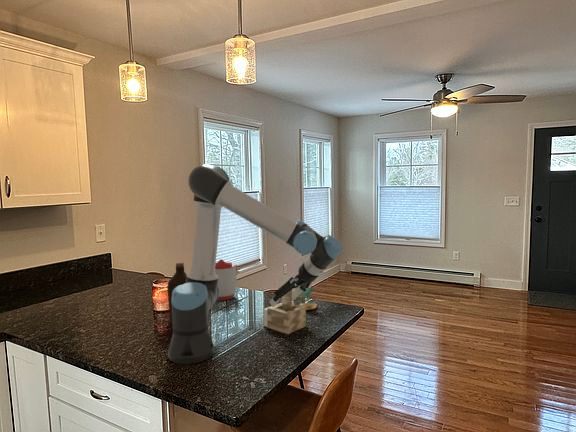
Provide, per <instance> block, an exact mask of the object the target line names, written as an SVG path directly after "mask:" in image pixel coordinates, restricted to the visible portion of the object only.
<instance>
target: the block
mask: <svg viewBox="0 0 576 432" xmlns="http://www.w3.org/2000/svg"><path fill="white" fill-rule="evenodd" d="M280 303H281V304H280ZM280 303H277V304H278V305H277V304H276V305H275V306H274V307H271V306H268V307H269V308H268V307H266V308H267V325H268V327H267V329H271V330H274V331H277V332H280V333H284V334H286V335H290V334H292V333H294V332H296V331H298V330H301V329H303V328H305V327H306V326H307V317H306V316H307V310H306V307H304V306H300V305H298V304H297V303H294V304H292V310H290V311H284V310H282V302H280Z"/></svg>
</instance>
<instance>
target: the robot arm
mask: <svg viewBox="0 0 576 432" xmlns="http://www.w3.org/2000/svg"><path fill="white" fill-rule="evenodd" d="M188 187H189V189H190V191H191V192H192V194H193V203H194V204H195V205H196V206H197V207H196V217H195V226H194V238H193V250H192V259H191V267H190V268H191V269H190V271H188V272H187V273H186V274H187V276H186V283H185V284H183V285H179V286H177V287H176V288H175V289H174V290H173V292H172V298H171V302H172V320H173V325H172V336H171V340H170V343H169V347H168V350H167V356H168V360H169V361H171V362H172V363H176V364H179V365H181V364H182V365H191V364H192V365H193V364H199V363H200V362H204V361H207V360H208V359H210V358H211V357H212V356H214V354H215V345H214V341H213V339H212V336H211V334H210V331H209V311H210V310H211V308H212V307H213V306H214V305H215V304H216V303H217V302H218V301H217V299H218V296H219V287H218V275H217V274H216V273H215V264H216V263H217V253H218V251H217V250H218V242H219V233H220V232H219V231H220V223H221V213H222V208H224V209H226V210H228V211H230V212H231V213H232V214H234V215H237V216H238V217H240V218H242V219H244V220H245V221H247V222H249V223H250V224H253V226H256V227H257V228H259V229H261V230H263V231H265V232H266V233H268V234H270V235H272V236H273V237H275V238H276V239H278V240H281V241H282V242H284V243H285V244H286V245H288V246H289V247H292V248H294V250H295V251H296V252H297V253H299V254H301V255H309V256H308V257H306V259H305V260H304V262H303V263H302V264H301V265H300V267H298V270H297V271H298V274H297V275H295V276H294V277H293V276H292V277H290V278H289V279H288V280H287V281H286V282H285V283H283V284H282V285H281V286H280V287H279V288H277V289H276V290H275V291H274V292H273V294H274V296H272V297H271V299H270V300H269V301H268V302H269V303H270V305H271V306H272V307H274V306H275V305H277V304H279V302H280V301H282V297H283V296H284V295H285V294H287V293H288V292H289V291H291V290H292V301H294V300H296V299H297V298H298V296H299V295H301V292H302V290H303V291H304V292H305V291H306V289H305V288H308V287H309V288H310V287H311V285H312V283H314V281H315V280H317V279H318V277H319V276H320V275H321V274H322V275H323V274H324V271H325V270H326V269H327V268H328V267H329V266H330V264H332V263H333V262H334V261H335V260H336V259H337V258H338V256H339V255H340V254H341V252H342V251H343V245H342V243H341V241H340V240H339V239H338V238H336V237H335V236H332V235H327V236H325V237H324V236H322V235H321V234H320V233H318V232H317V231H315V229H313V228H312V227H311V226H309V225H308V224H307V222H306V223H305V222H304V221H302V220H301V219H297V220H296V221H294V220H293V219H291V218H289V217H287V216H285V215H283V214H282V213H280V212H278V211H276V210H274V208H271V207H270V206H268V205H266V204H265V203H262V202H261V201H259V200H257V198H254V197H252V196H251V195H249V194H247V193H246V192H244V191H242V190H240V189H239V188H237V187H236V186H233V184H232V181H231V179H230V177H229V175H228V173H227V172H226V171H225V170H224V169H223V168H221V167H220V166H218V165H211V164H200V165H198V166H196V167H194V168H193V169H192V170H191V172H190V173H189V175H188Z"/></svg>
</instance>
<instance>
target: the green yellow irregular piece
mask: <svg viewBox="0 0 576 432" xmlns="http://www.w3.org/2000/svg"><path fill="white" fill-rule="evenodd" d="M305 289H306V291H305V292H304V291H303V290H302V292H301V293H300V296H302V297H301V299H298V298H296V302H297V303H296V305H300V306H304V307H306V311H308V310H314V309H316V308H317V306H318V304H317V303H314V302H313V301H312V300H311V297H310V296H311V295H312V292H313V289H314V286H313V285H310V286H309V287H308V288H305ZM303 298H306V302H303V303H300V302H302V301H303ZM309 301H310V302H309Z"/></svg>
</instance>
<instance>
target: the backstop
mask: <svg viewBox="0 0 576 432" xmlns="http://www.w3.org/2000/svg"><path fill="white" fill-rule="evenodd" d="M281 303H282V302H280V303H277V304H276V305H278V304H281ZM292 304H295V301H294V300H292ZM269 307H272V305H271V306H268V307H265V308H264V309H263V326H264V327H266V328H268V325H267V308H269Z"/></svg>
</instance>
